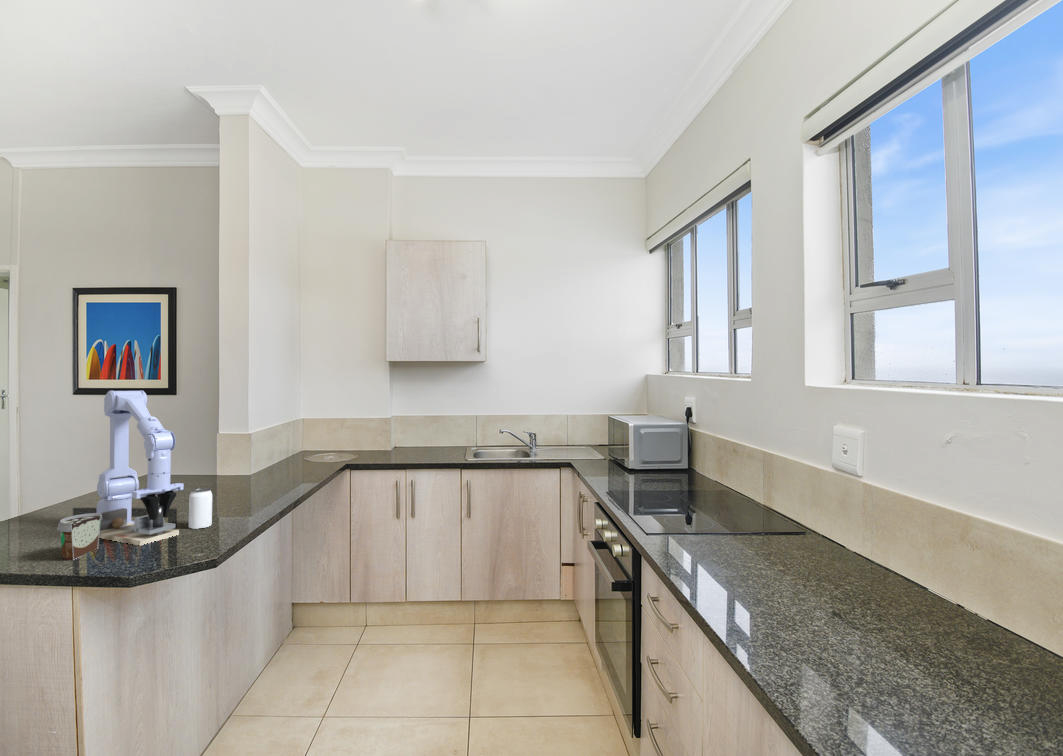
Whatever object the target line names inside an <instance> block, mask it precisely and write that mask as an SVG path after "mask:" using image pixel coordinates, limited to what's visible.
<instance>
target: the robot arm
mask: <svg viewBox="0 0 1063 756" xmlns="http://www.w3.org/2000/svg"><path fill="white" fill-rule="evenodd" d="M103 401H104V402H103V404H104V405H103V408H104V409H103V411H104V416H107V417H109V467H108V468H107V469H106V470H105V471H102V473H100V474H99V476H98V483H97V485H96V492H97V496H98V497H99V498H101V499H100V500H98V502H97V504H96V513H102V512H107V511H112V510H117V509H121V508H125V509H127V523H128V522H129V523H134V520H132V508H133V507H132V505H133V499H134V500H138V499H140V500H141V502H142V504H143V505H144V507H145V509H146V512H147V515H149V519H150V520H156V519H157V510H158V505H163V506H164V515H163V517H164V519H165V518H167V517H168V513H169V511H170V507H171V505H172V504H173V502H174V500H175V498H176V497H177V492H176V491H183V490H184V489H185V488H184V484H185V483H182V482H178V483H171V472H172V470H171V468H172V451H173V450H174V449H175V446H176V436H175V434H174V432H173V431H171V430H168V429H165V428H164V426H163V425H162V423H161V421H160V420H159V419H158V418H157V416H153V415H151V414H150V412H149V409H148V408H147V404H148V395H147V393H146V392H145V391H144V390H111V389H110V390H108V391H107V392H106V394H105V396H104V400H103ZM131 417H133V418H134V420H135V421H137V424H136V428H137V430H138V432H139V433H140V435H141V436H142V438H143V440H144V441H143V446H144V450H145V457H146V458H147V475H146V476H147V484H146V486H147V487H145V488H141V489H140V481H139V478H138V473H137V471H136V470H134V469H133V468H131V467H130V466H129V465H130V464H129V463H130V462H129V461H130V458H129V457H130V454H129V453H130V451H129V449H130V448H129V447H130V445H129V444H130V441H129V440H130V437H129V436H130V419H131Z"/></svg>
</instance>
